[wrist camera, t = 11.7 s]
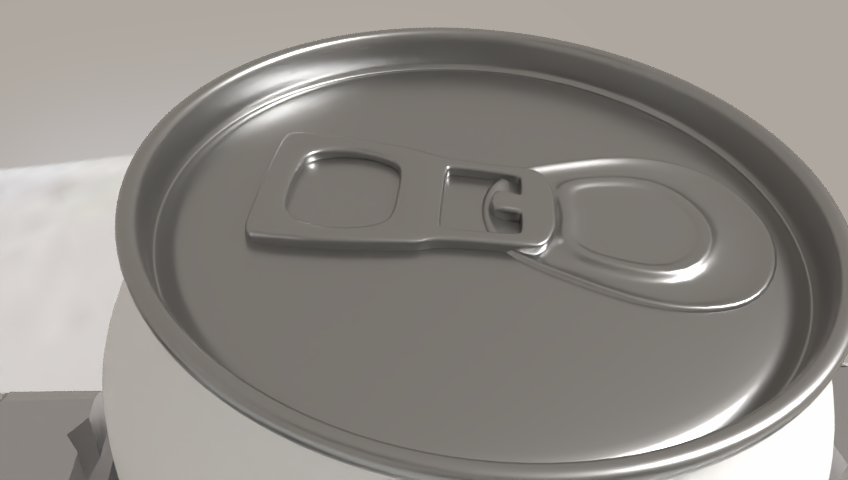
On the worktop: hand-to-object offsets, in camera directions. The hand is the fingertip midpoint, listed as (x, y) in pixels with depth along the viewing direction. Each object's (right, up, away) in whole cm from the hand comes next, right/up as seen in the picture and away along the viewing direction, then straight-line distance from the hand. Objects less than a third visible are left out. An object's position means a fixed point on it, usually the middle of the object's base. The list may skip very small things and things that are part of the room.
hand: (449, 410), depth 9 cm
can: (0, -7, +4) cm, 8 cm away
